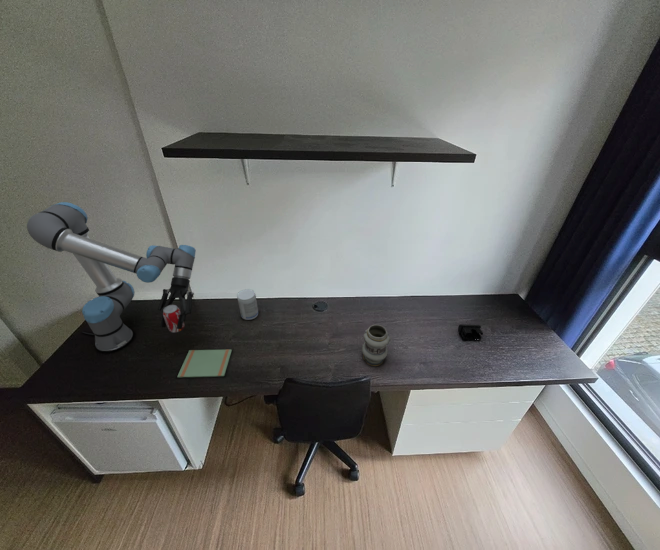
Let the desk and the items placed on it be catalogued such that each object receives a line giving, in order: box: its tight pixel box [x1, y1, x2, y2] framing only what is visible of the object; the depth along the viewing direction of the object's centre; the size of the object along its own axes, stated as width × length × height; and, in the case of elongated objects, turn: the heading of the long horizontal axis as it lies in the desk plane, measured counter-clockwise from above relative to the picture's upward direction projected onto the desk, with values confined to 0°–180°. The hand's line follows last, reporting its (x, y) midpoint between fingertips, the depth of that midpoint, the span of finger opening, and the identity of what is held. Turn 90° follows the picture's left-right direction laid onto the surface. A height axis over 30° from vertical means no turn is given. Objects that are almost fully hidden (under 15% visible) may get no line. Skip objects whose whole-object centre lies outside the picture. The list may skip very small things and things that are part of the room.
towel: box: [176, 348, 233, 379], centre depth 133 cm, size 20×15×1 cm
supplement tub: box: [236, 288, 259, 321], centre depth 157 cm, size 10×10×15 cm
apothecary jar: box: [361, 324, 391, 367], centre depth 134 cm, size 12×12×18 cm
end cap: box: [457, 323, 484, 342], centre depth 151 cm, size 10×7×7 cm
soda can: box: [163, 304, 186, 333], centre depth 132 cm, size 7×7×12 cm
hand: (170, 327), depth 130 cm, fingers closed on soda can, 7 cm apart
